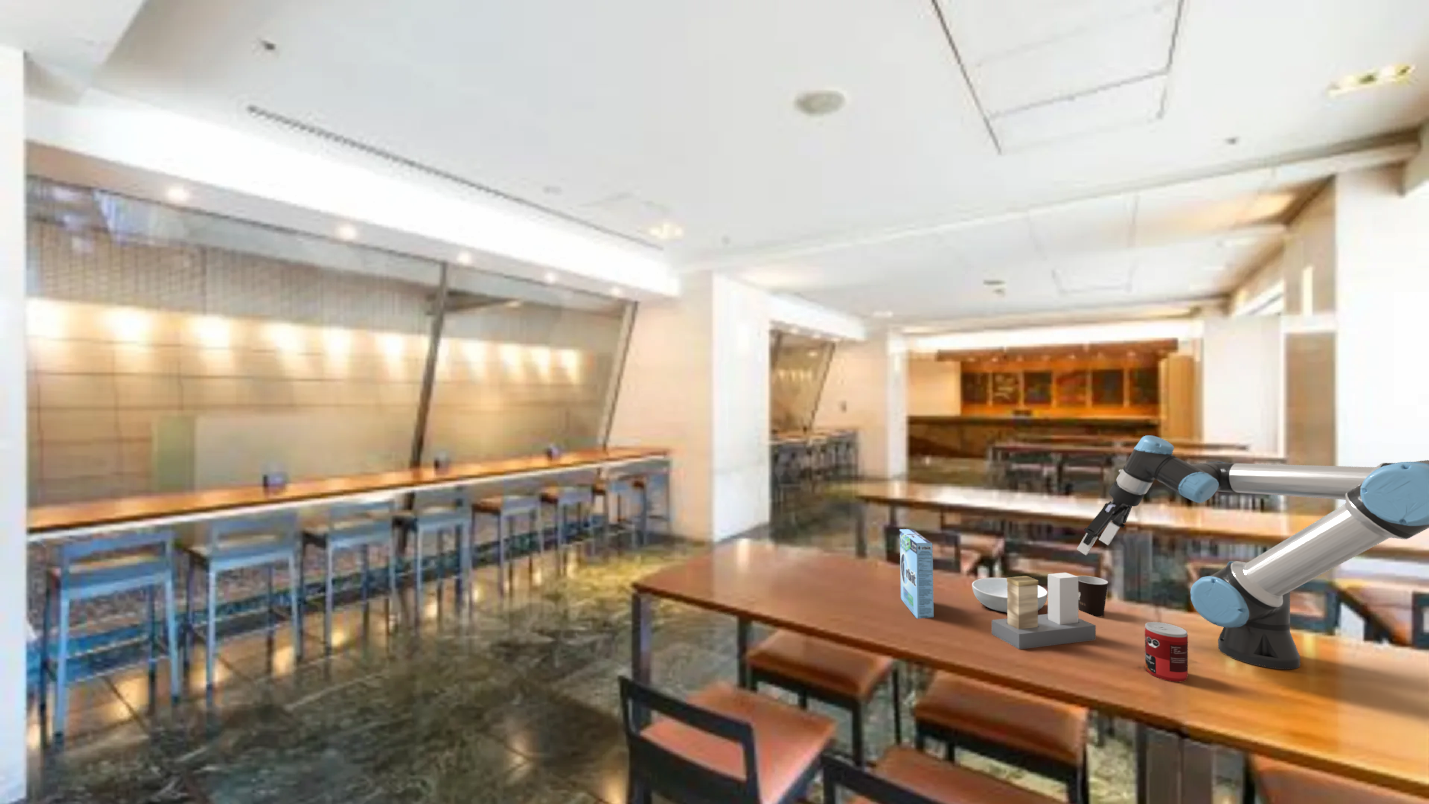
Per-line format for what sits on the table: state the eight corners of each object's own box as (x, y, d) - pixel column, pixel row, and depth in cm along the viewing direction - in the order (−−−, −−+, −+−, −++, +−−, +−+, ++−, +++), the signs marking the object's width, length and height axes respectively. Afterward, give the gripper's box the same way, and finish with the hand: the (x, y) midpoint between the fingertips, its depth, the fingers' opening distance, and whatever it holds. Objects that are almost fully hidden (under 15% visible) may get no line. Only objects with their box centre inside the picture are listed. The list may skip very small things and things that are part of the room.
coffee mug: (1107, 620, 171) (1107, 586, 171) (1073, 613, 176) (1072, 580, 176) (1109, 609, 181) (1109, 576, 181) (1077, 603, 186) (1077, 571, 186)
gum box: (933, 621, 171) (933, 543, 171) (916, 620, 171) (916, 543, 171) (915, 598, 190) (914, 528, 190) (899, 598, 191) (899, 528, 191)
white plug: (1078, 636, 157) (1078, 576, 157) (1059, 638, 155) (1059, 578, 155) (1066, 630, 160) (1065, 572, 161) (1047, 632, 159) (1047, 574, 159)
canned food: (1146, 664, 143) (1145, 619, 143) (1188, 673, 137) (1187, 627, 137) (1143, 675, 137) (1143, 628, 137) (1187, 686, 132) (1187, 637, 132)
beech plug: (1038, 641, 153) (1038, 580, 153) (1018, 643, 152) (1018, 582, 152) (1026, 635, 157) (1026, 575, 158) (1006, 637, 156) (1006, 577, 156)
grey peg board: (1095, 644, 154) (1095, 625, 154) (1019, 653, 149) (1019, 634, 149) (1064, 629, 164) (1064, 612, 164) (991, 638, 158) (991, 620, 158)
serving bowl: (976, 594, 195) (976, 573, 195) (1048, 605, 184) (1048, 583, 184) (967, 613, 177) (967, 590, 177) (1046, 627, 166) (1046, 602, 166)
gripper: (1135, 473, 171) (1100, 530, 180) (1095, 486, 157) (1059, 547, 166) (1162, 488, 165) (1125, 546, 175) (1123, 503, 152) (1085, 565, 161)
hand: (1092, 547), depth 170 cm, fingers open, 13 cm apart
